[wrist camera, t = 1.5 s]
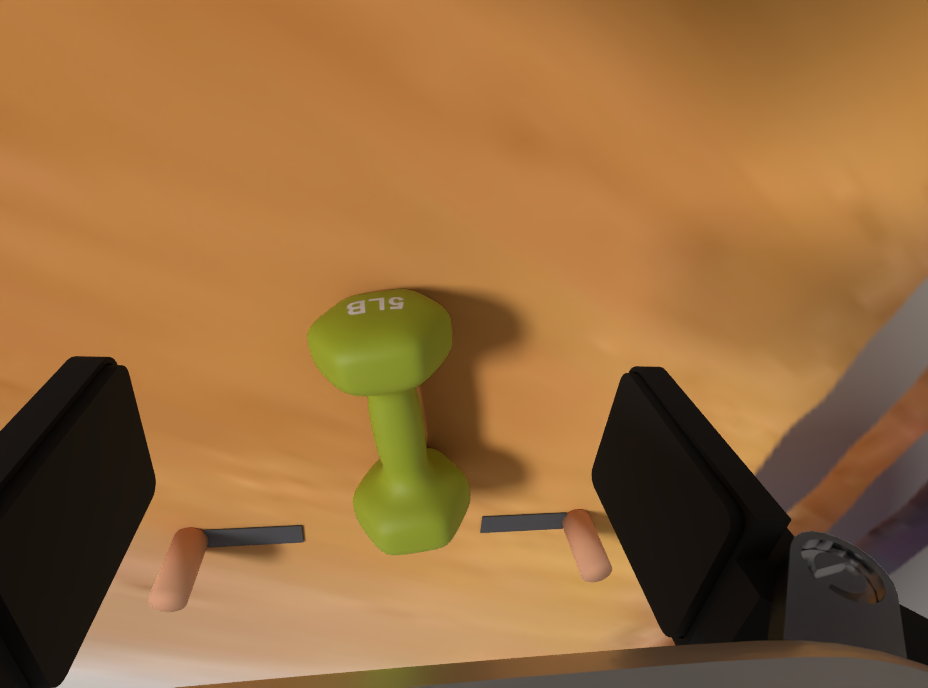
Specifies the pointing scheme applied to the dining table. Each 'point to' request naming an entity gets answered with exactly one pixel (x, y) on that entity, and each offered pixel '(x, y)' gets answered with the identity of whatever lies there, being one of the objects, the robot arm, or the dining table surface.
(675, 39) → the dining table surface
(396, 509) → the dumbbell
